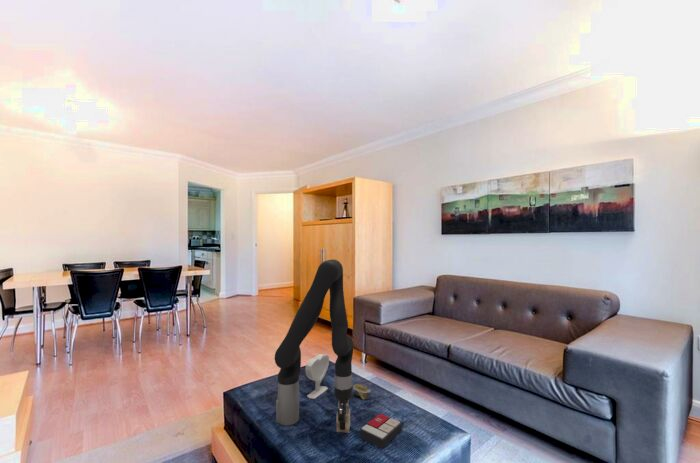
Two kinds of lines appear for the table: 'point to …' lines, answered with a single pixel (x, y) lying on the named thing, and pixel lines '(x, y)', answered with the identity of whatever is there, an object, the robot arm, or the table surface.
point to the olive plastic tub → (361, 391)
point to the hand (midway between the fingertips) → (343, 425)
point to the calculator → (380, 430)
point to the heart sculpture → (317, 373)
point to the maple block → (347, 422)
